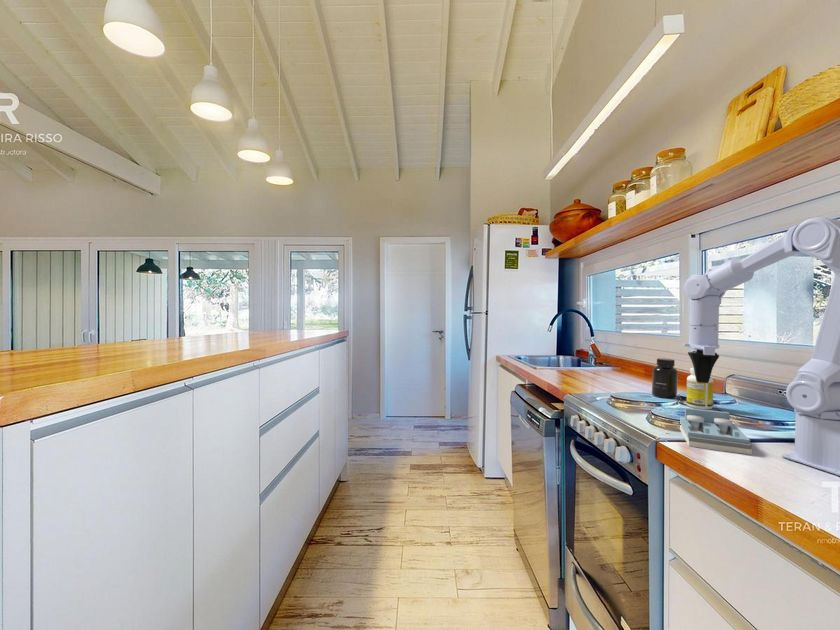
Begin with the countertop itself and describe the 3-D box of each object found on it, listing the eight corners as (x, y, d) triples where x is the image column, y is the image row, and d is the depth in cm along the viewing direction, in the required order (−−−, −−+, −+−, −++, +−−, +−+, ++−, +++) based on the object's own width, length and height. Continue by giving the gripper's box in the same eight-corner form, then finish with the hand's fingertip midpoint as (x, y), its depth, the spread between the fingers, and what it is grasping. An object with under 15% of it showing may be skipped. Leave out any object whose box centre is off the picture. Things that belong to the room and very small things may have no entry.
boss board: (751, 454, 75) (752, 435, 75) (688, 445, 79) (689, 427, 79) (725, 426, 93) (725, 410, 92) (675, 420, 97) (675, 405, 97)
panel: (750, 446, 76) (750, 427, 76) (688, 438, 80) (688, 420, 80) (733, 429, 86) (733, 412, 86) (679, 422, 91) (680, 407, 91)
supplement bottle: (655, 398, 122) (656, 359, 122) (649, 393, 129) (650, 357, 129) (680, 399, 120) (681, 361, 120) (673, 395, 127) (673, 358, 127)
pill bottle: (704, 404, 114) (705, 367, 114) (718, 410, 108) (719, 370, 108) (681, 404, 115) (682, 366, 114) (694, 409, 108) (695, 370, 108)
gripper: (679, 324, 101) (678, 376, 102) (688, 326, 88) (687, 385, 89) (712, 325, 98) (711, 378, 98) (727, 327, 85) (725, 389, 85)
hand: (702, 382), depth 93 cm, fingers closed
